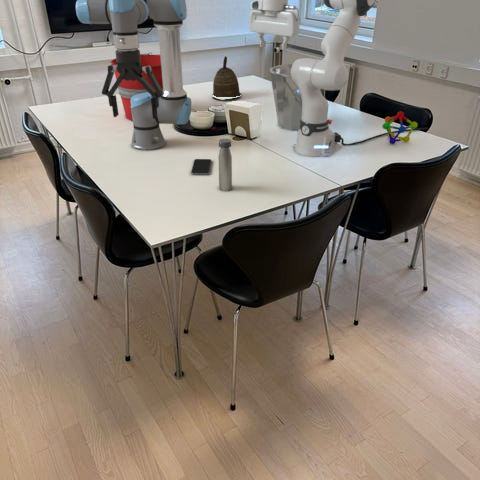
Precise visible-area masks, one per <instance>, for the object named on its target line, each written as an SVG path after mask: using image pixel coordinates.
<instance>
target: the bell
mask: <svg viewBox="0 0 480 480" xmlns="http://www.w3.org/2000/svg"><path fill="white" fill-rule="evenodd" d="M227 63H228V57H227V56H224V58H223V63H222V67H221V68H219V69H218V70H217V71H216V73H215V75H214V78H213V81H212V83H213V84H212V95H214V96H216V97H236V96H240V95H241V96H242V93H241V92H240V83H239V80H238V79H239V78H238V77H237V75H236V73H235V72H234V70H232V69H231V68H230V67H227Z"/></svg>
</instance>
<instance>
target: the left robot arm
mask: <svg viewBox="0 0 480 480" xmlns="http://www.w3.org/2000/svg"><path fill="white" fill-rule="evenodd" d="M187 11H188V9H187V3H186V0H76V2H75V13H76V17H77V19H78V21H79V22H80V23H82V24H89V25H111V28H112V37H113V43H114V48H115V52H114V53H115V59H116V60H117V66H114V65H113V64H111V63H110V65H107V74H106V78H105V81H104V84H103V86H102V90H101V94H102V95H104V96H107V98H108V105H109V107H111V108H112V114H113V118H117V117H118V116H119V115H120V114H119V108H118V107H119V106H118V101H117V95H116V94H115V93H116V91H117V90H118V87H119V85H120V84H121V82H122V81H123V80H125V81H128V80H132V81H135V80H137V81H138V82H140V83H141V84H142V85H143V87H144V88H145V89H146V90H147V91H148V92H145V93H140V94H136V95H134V96H133V97H132V98H131V111H132V118H133V121H132V125H133V132H132V135H131V147H132V148H134V149H135V150H141V151H151V150H153V151H154V150H157V149H161V148H163V147H164V146H165V144H166V140H165V137H164V135H163V132H162V130H161V127H160V124H161V125H164V124H165V125H177V126H179V125H186V124H188V122H189V120H190V118H191V113H192V99H191V97H189V96H188V93H187V91H185V89H184V84H183V67H182V51H181V50H182V49H181V34H180V33H181V31H180V29H181V28H182V26H183V25H184V23H183V21H184V20H186V19H187V15H188V13H187ZM146 20H153V26H154V27H155V28H156V29H157V32H158V44H159V55H160V57H161V69H162V81H163V90H162V89H161V87H160V85H159V83H158V82H157V80H156V78H155V76H154V74H153V73H152V68H151V66H150V65H149V66H146V67H142V65H141V57H140V54H141V50H140V49H139V48H140V42H139V41H140V39H139V31H138V25H141V24H143V23H144V22H146ZM116 70H117V71H118V73H119V74H120V75H119V77H118V78H117V80H116V79H115V82H114V84H112V81H113V77H114V76H115V73H114V72H115V71H116ZM142 71H144V72H145V73H146V74H147V76H148V78H149V80H150V82H151V83H152V85H153V87H154V89H155V90H154V89H153V88H152V86H151V85H150V84H149V83H148V82H147V81H146V79H145V78H144V76H143V75H142V74H141V73H142ZM111 84H112V85H111ZM110 86H111V88H110Z"/></svg>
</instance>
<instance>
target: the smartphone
mask: <svg viewBox="0 0 480 480" xmlns="http://www.w3.org/2000/svg"><path fill="white" fill-rule="evenodd" d="M211 165H212V159H211V158H195V159H194V160H193V163H192V168H191V172H190V173H191V175H201V176H202V175H203V176H206V175H210V170H211Z"/></svg>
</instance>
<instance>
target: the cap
mask: <svg viewBox="0 0 480 480" xmlns="http://www.w3.org/2000/svg"><path fill="white" fill-rule="evenodd" d="M218 147H219V149H221V148H229V149H230V148H231V147H232V139H230V138H226V137H225V138H220V139H219V140H218Z"/></svg>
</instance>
